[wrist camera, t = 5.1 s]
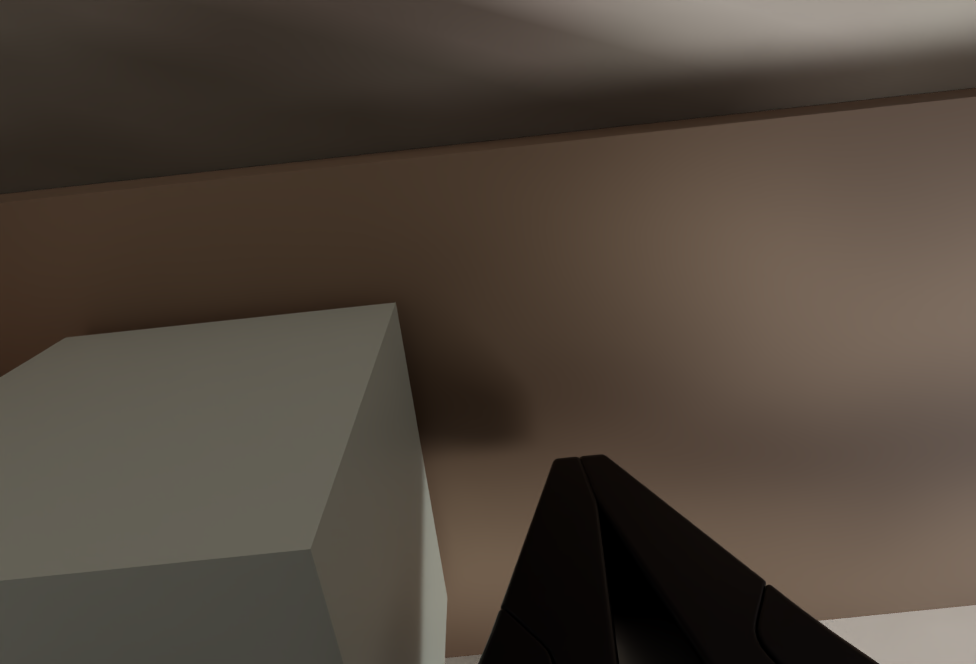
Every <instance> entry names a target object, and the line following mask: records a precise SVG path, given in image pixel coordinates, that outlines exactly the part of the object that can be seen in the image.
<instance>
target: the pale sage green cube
mask: <svg viewBox="0 0 976 664" xmlns="http://www.w3.org/2000/svg"><path fill="white" fill-rule="evenodd" d="M446 618H447V593H446V587H445V581H444V576H443V570H442V564H441V558H440V553H439V547H438V541H437V535H436V530H435V524H434V518H433V513H432V507H431V501H430V495H429V490H428V484H427V478H426V472H425V467H424V461H423V455H422V450H421V444H420V438H419V432H418V427H417V421H416V415H415V409H414V404H413V398H412V392H411V387H410V381H409V375H408V369H407V364H406V358H405V352H404V346H403V341H402V335H401V329H400V324H399V318H398V312H397V306H396V302H395V303H385V304H376V305H366V306H357V307H348V308H338V309H329V310H319V311H310V312H301V313H291V314H282V315H272V316H263V317H254V318H244V319H235V320H225V321H216V322H207V323H197V324H188V325H178V326H169V327H160V328H150V329H141V330H131V331H122V332H113V333H103V334H94V335H84V336H75V337H66V338H64V339H62V340H61V341H59V342H57V343H56V344H54V345H53V346H51V347H49V348H48V349H46V350H44V351H43V352H41V353H39V354H38V355H36V356H34V357H33V358H31V359H30V360H28V361H26V362H25V363H23V364H21V365H20V366H18V367H16V368H15V369H13V370H11V371H10V372H8V373H7V374H5V375H3V376H2V377H0V664H445V642H446Z"/></svg>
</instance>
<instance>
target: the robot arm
mask: <svg viewBox="0 0 976 664" xmlns="http://www.w3.org/2000/svg"><path fill="white" fill-rule="evenodd" d="M478 664H879V663H877V662H876V661H874V660H873V659H872V658H870V657H869V656H867V655H866V654H864V653H863V652H861V651H860V650H858V649H857V648H856V647H854V646H853V645H851V644H850V643H848V642H847V641H845V640H844V639H842V638H841V637H840V636H838V635H837V634H835V633H834V632H832V631H831V630H830V629H828V628H827V627H826V626H824V625H823V624H822V623H820V622H819V621H818V620H816V619H815V618H814V617H812V616H811V615H810V614H808V613H807V612H806V611H804V610H803V609H802V608H800V607H799V606H798V605H796V604H795V603H794V602H792V601H791V600H790V599H788V598H787V597H786V596H785V595H783V594H782V593H781V592H780V591H778V590H777V589H776V588H774V587H773V586H772V585H766V581H765V580H764V579H763V578H761V577H760V576H759V575H758V574H756V573H755V572H754V571H752V570H751V569H750V568H749V567H747V566H746V565H745V564H744V563H742V562H741V561H740V560H739V559H737V558H736V557H735V556H733V555H732V554H731V553H730V552H728V551H727V550H726V549H725V548H723V547H722V546H721V545H719V544H718V543H717V542H716V541H714V540H713V539H712V538H711V537H709V536H708V535H707V534H705V533H704V532H703V531H702V530H700V529H699V528H698V527H697V526H695V525H694V524H693V523H691V522H690V521H689V520H688V519H686V518H685V517H684V516H683V515H681V514H680V513H679V512H677V511H676V510H675V509H674V508H672V507H671V506H670V505H669V504H667V503H666V502H665V501H663V500H662V499H661V498H660V497H658V496H657V495H656V494H655V493H653V492H652V491H651V490H649V489H648V488H647V487H646V486H644V485H643V484H642V483H641V482H639V481H638V480H637V479H635V478H634V477H633V476H632V475H630V474H629V473H628V472H627V471H625V470H624V469H623V468H621V467H620V466H619V465H618V464H616V463H615V462H614V461H613V460H611V459H610V458H609V457H607V456H606V455H604V454H597V455H587V456H581V457H580V458H579V457H566V458H557V459H555V460H554V461H553V463H552V466H551V468H550V471H549V474H548V477H547V480H546V482H545V485H544V488H543V491H542V493H541V496H540V499H539V502H538V504H537V507H536V510H535V513H534V516H533V518H532V521H531V524H530V527H529V529H528V532H527V535H526V538H525V540H524V543H523V546H522V549H521V552H520V554H519V557H518V560H517V563H516V565H515V568H514V571H513V574H512V576H511V579H510V582H509V585H508V588H507V590H506V593H505V596H504V599H503V601H502V604H501V610H500V611H499V612H498V614H497V617H496V620H495V623H494V625H493V628H492V631H491V634H490V636H489V639H488V641H487V643H486V646H485V648H484V651H483V653H482V656H481V658H480V661H479V663H478Z"/></svg>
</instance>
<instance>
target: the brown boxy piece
mask: <svg viewBox="0 0 976 664" xmlns="http://www.w3.org/2000/svg"><path fill="white" fill-rule="evenodd" d="M395 302H396V306H397V312H398V318H399V324H400V329H401V335H402V341H403V346H404V352H405V358H406V364H407V369H408V375H409V381H410V387H411V392H412V398H413V404H414V409H415V415H416V421H417V427H418V432H419V438H420V444H421V450H422V455H423V461H424V467H425V472H426V478H427V484H428V490H429V495H430V501H431V507H432V513H433V518H434V524H435V530H436V535H437V541H438V547H439V553H440V558H441V564H442V570H443V576H444V581H445V587H446V593H447V618H446V642H445V658H449V657H459V656H469V655H479V654H482V653H483V651H484V648H485V646H486V643H487V641H488V639H489V636H490V634H491V631H492V628H493V625H494V623H495V620H496V617H497V614H498V612H499V611H500V610H501V604H502V601H503V599H504V596H505V593H506V590H507V588H508V585H509V582H510V579H511V576H512V574H513V571H514V568H515V565H516V563H517V560H518V557H519V554H520V552H521V549H522V546H523V543H524V540H525V538H526V535H527V532H528V529H529V527H530V524H531V521H532V518H533V516H534V513H535V510H536V507H537V504H538V502H539V499H540V496H541V493H542V491H543V488H544V485H545V482H546V480H547V477H548V474H549V471H550V468H551V466H552V463H553V461H554V460H555V459H557V458H566V457H579V458H580V457H581V456H587V455H597V454H604V455H606V456H607V457H609V458H610V459H611V460H613V461H614V462H615V463H616V464H618V465H619V466H620V467H621V468H623V469H624V470H625V471H627V472H628V473H629V474H630V475H632V476H633V477H634V478H635V479H637V480H638V481H639V482H641V483H642V484H643V485H644V486H646V487H647V488H648V489H649V490H651V491H652V492H653V493H655V494H656V495H657V496H658V497H660V498H661V499H662V500H663V501H665V502H666V503H667V504H669V505H670V506H671V507H672V508H674V509H675V510H676V511H677V512H679V513H680V514H681V515H683V516H684V517H685V518H686V519H688V520H689V521H690V522H691V523H693V524H694V525H695V526H697V527H698V528H699V529H700V530H702V531H703V532H704V533H705V534H707V535H708V536H709V537H711V538H712V539H713V540H714V541H716V542H717V543H718V544H719V545H721V546H722V547H723V548H725V549H726V550H727V551H728V552H730V553H731V554H732V555H733V556H735V557H736V558H737V559H739V560H740V561H741V562H742V563H744V564H745V565H746V566H747V567H749V568H750V569H751V570H752V571H754V572H755V573H756V574H758V575H759V576H760V577H761V578H763V579H764V580H765V581H766V585H772V586H773V587H774V588H776V589H777V590H778V591H780V592H781V593H782V594H783V595H785V596H786V597H787V598H788V599H790V600H791V601H792V602H794V603H795V604H796V605H798V606H799V607H800V608H802V609H803V610H804V611H806V612H807V613H808V614H810V615H811V616H812V617H814V618H815V619H816V620H818V621H819V620H829V619H839V618H849V617H859V616H869V615H879V614H889V613H899V612H909V611H919V610H929V609H939V608H949V607H959V606H969V605H976V88H969V89H960V90H951V91H942V92H933V93H924V94H914V95H905V96H896V97H887V98H878V99H869V100H859V101H850V102H841V103H832V104H823V105H814V106H804V107H795V108H786V109H777V110H768V111H759V112H749V113H740V114H731V115H722V116H713V117H704V118H694V119H685V120H676V121H667V122H658V123H649V124H639V125H630V126H621V127H612V128H603V129H594V130H584V131H575V132H566V133H557V134H548V135H538V136H529V137H520V138H511V139H502V140H493V141H483V142H474V143H465V144H456V145H447V146H438V147H428V148H419V149H410V150H401V151H392V152H383V153H373V154H364V155H355V156H346V157H337V158H328V159H318V160H309V161H300V162H291V163H282V164H273V165H263V166H254V167H245V168H236V169H227V170H218V171H208V172H199V173H190V174H181V175H172V176H163V177H153V178H144V179H135V180H126V181H117V182H108V183H98V184H89V185H80V186H71V187H62V188H53V189H43V190H34V191H25V192H16V193H7V194H0V377H2V376H3V375H5V374H7V373H8V372H10V371H11V370H13V369H15V368H16V367H18V366H20V365H21V364H23V363H25V362H26V361H28V360H30V359H31V358H33V357H34V356H36V355H38V354H39V353H41V352H43V351H44V350H46V349H48V348H49V347H51V346H53V345H54V344H56V343H57V342H59V341H61V340H62V339H64V338H66V337H75V336H84V335H94V334H103V333H113V332H122V331H131V330H141V329H150V328H160V327H169V326H178V325H188V324H197V323H207V322H216V321H225V320H235V319H244V318H254V317H263V316H272V315H282V314H291V313H301V312H310V311H319V310H329V309H338V308H348V307H357V306H366V305H376V304H385V303H395Z"/></svg>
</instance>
